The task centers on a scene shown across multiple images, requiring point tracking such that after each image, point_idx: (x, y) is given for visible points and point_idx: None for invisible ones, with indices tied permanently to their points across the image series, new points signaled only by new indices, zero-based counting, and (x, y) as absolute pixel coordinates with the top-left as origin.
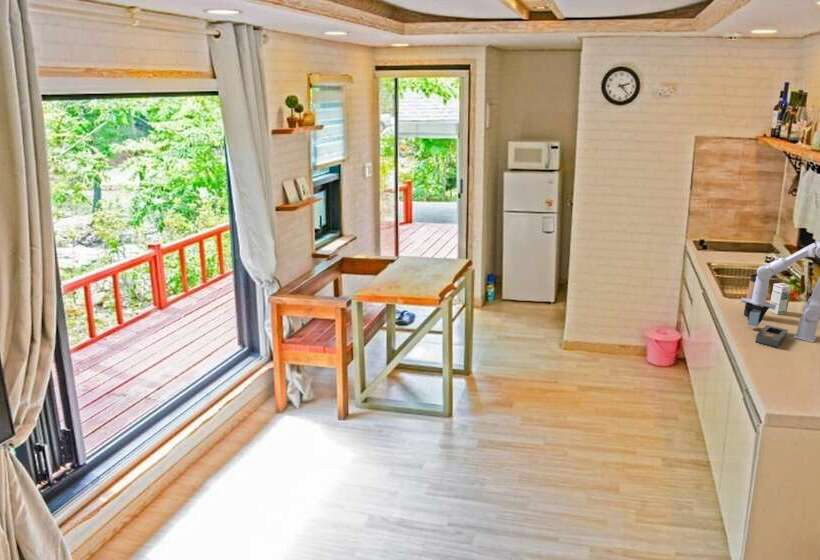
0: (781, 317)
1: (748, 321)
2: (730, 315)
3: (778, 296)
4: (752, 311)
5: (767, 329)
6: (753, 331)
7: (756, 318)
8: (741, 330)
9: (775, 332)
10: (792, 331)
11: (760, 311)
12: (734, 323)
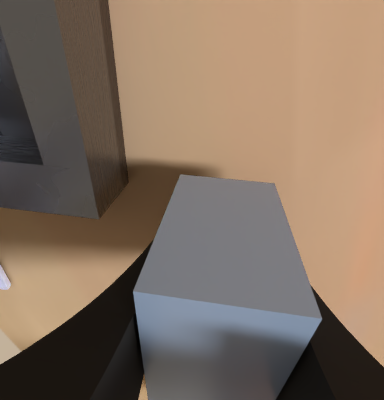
0: (144, 390)
1: (277, 202)
2: (369, 350)
3: None
4: (271, 358)
5: (8, 46)
6: (205, 142)
7: (185, 230)
8: (317, 85)
9: (15, 146)
10: (37, 286)
11: (163, 387)
12: (366, 239)
